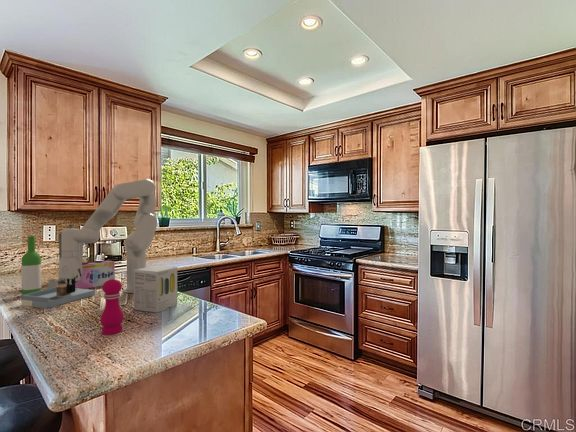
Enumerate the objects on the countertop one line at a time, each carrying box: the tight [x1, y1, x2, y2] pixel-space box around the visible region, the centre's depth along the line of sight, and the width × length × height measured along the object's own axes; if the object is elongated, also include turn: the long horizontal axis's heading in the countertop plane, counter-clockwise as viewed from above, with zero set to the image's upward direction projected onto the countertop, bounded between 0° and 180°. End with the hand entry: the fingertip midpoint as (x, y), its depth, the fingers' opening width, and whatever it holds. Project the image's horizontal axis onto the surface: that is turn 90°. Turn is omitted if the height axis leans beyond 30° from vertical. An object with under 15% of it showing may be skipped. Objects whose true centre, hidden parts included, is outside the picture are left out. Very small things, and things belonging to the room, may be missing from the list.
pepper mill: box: [100, 275, 125, 336], centre depth 111 cm, size 7×7×20 cm
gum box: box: [75, 259, 116, 289], centre depth 181 cm, size 24×8×14 cm, turn 141°
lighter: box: [47, 277, 61, 289], centre depth 175 cm, size 7×2×8 cm, turn 122°
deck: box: [20, 288, 96, 309], centre depth 152 cm, size 16×24×4 cm, turn 162°
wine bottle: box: [21, 235, 42, 295], centre depth 161 cm, size 8×8×30 cm
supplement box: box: [133, 264, 178, 314], centre depth 141 cm, size 13×13×18 cm
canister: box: [58, 223, 84, 283], centre depth 194 cm, size 13×13×35 cm
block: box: [56, 284, 71, 296], centre depth 152 cm, size 4×4×4 cm
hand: (70, 292), depth 151 cm, fingers closed
